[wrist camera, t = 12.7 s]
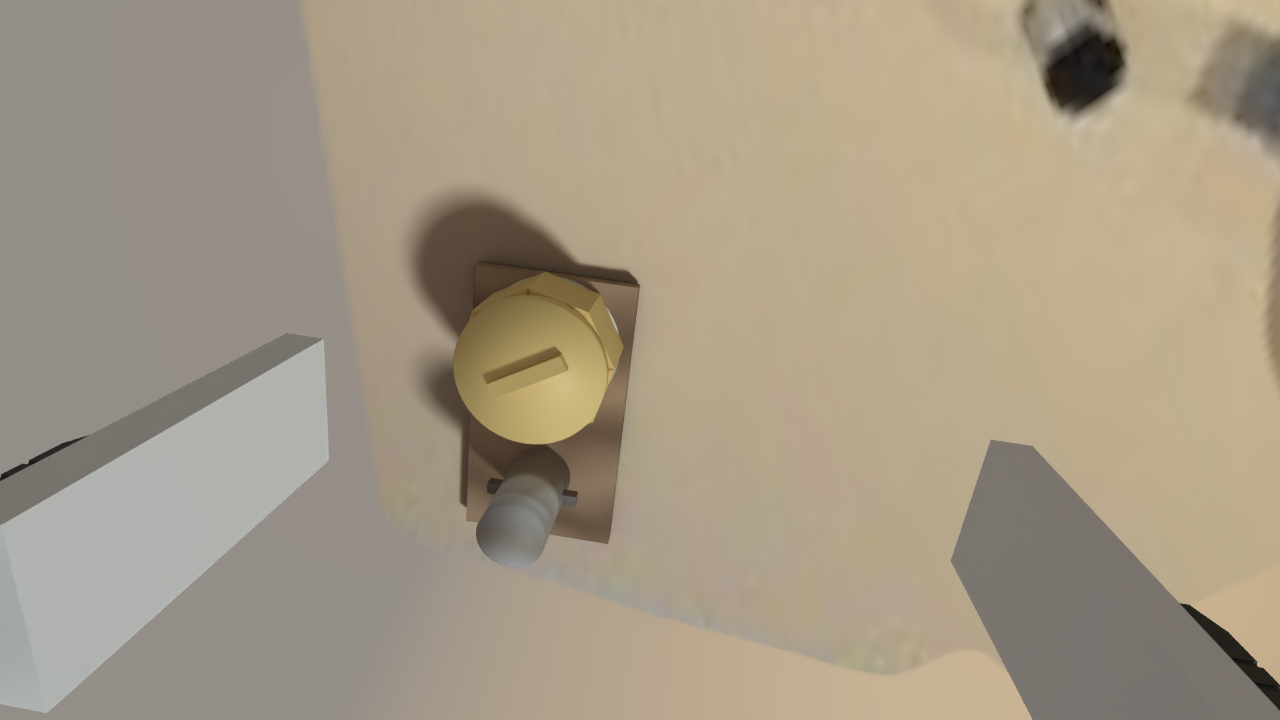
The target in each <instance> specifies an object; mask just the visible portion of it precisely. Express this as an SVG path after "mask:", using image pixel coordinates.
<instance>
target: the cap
mask: <svg viewBox="0 0 1280 720" xmlns="http://www.w3.org/2000/svg"><path fill="white" fill-rule="evenodd" d="M623 348H624V346H623V343H622V341H621V339H620V337H619V335H618V332H617V330H616V328H615V326H614V324H613V321H612V319H611V317H610V315H609V313H608V310H607V308H606V306H605V304H604V302H603V299H602V297H601V295H600V294H598V293H596V292H593V291H591V290H589V289H586V288H584V287H581V286H579V285H577V284H574V283H572V282H569V281H567V280H565V279H562V278H560V277H557V276H555V275H552V274H550V273H548V272H543V273H540V274H538V275H536V276H533V277H531V278H528V279H526V280H524V281H521V282H519V283H517V284H514V285H512V286H509V287H507V288H505V289H502V290H500V291H497V292H495V293H493V294H492V295H491V296H489V297H488V298H487V299H486V300H485V301H483V302H482V303H481V304H480V305H478V306H477V307H476V308H475V309H473V310H472V312H471V315H470V318H469V321H468V324H467V325H466V326H465V328H464V329H463V331H462V333H461V335H460V336H459V339H458V341H457V344H456V348H455V352H454V359H453V371H454V378H455V383H456V386H457V389H458V392H459V394H460V396H461V398H462V400H463V402H464V404H465V405H466V407H467V408H468V410H469V411H470V412H471V413H472V415H473V416H474V417H475V418H476V419H477V420H478V421H479V422H480V423H481V424H483V425H484V426H485V427H486V428H488V429H489V430H491V431H492V432H494V433H496V434H498V435H500V436H502V437H504V438H506V439H509V440H512V441H515V442H520V443H525V444H548V443H553V442H557V441H561V440H563V439H566V438H568V437H570V436H572V435H574V434H575V433H577V432H578V431H580V430H581V429H582V428H583V427H585V426H586V425H587V424H589V423H592V422H593V421H594V418H595V416H596V414H597V411H598V409H599V406H600V404H601V402H602V399H603V397H604V394H605V392H606V389H607V387H608V385H609V382H610V380H611V377H612V375H613V372H614V370H615V368H616V365H617V363H618V360H619V358H620V355H621V353H622V350H623Z"/></svg>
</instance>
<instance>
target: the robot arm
mask: <svg viewBox="0 0 1280 720" xmlns="http://www.w3.org/2000/svg"><path fill="white" fill-rule="evenodd" d="M328 460H329V450H328V427H327V405H326V383H325V361H324V339H321V338H315V337H308V336H301V335H295V334H288V333H287V334H285V335H283V336H281V337H279V338H277V339H275V340H273V341H271V342H269V343H267V344H265V345H263V346H261V347H259V348H257V349H256V350H254V351H252V352H250V353H248V354H246V355H244V356H242V357H240V358H238V359H236V360H234V361H233V362H230V363H229V364H227V365H225V366H223V367H221V368H219V369H217V370H215V371H213V372H211V373H209V374H207V375H205V376H203V377H201V378H200V379H197V380H196V381H194V382H192V383H190V384H188V385H186V386H184V387H182V388H180V389H178V390H176V391H174V392H172V393H170V394H168V395H166V396H164V397H163V398H161V399H159V400H157V401H155V402H153V403H151V404H149V405H147V406H145V407H143V408H141V409H139V410H137V411H136V412H133V413H132V414H130V415H128V416H126V417H124V418H122V419H120V420H118V421H116V422H114V423H112V424H110V425H109V426H106V427H104V428H102V429H101V430H99V431H97V432H95V433H93V434H91V435H88V436H85V437H81V438H79V439H75V440H72V441H69V442H65V443H62V444H60V445H59V446H56V447H54V448H52V449H50V450H49V451H46V452H44V453H43V454H41V455H39V456H37V457H35V458H33V459H31V460H29V463H28V464H21V465H19V466H17V467H15V468H13V469H11V470H9V471H7V472H5V473H3V474H1V478H0V704H2V705H8V706H13V707H19V708H24V709H29V710H34V711H40V712H45V713H48V712H49V711H50V710H51V709H52V708H53V707H54V706H55V705H56V704H58V702H60V701H61V700H62V699H63V698H64V697H65V696H66V695H67V694H68V693H70V692H71V691H72V690H73V689H74V688H75V687H76V686H78V685H79V684H80V683H81V682H82V681H83V680H84V679H85V678H86V677H88V676H89V675H90V674H91V673H92V672H93V671H94V670H95V669H97V668H98V667H99V666H100V665H101V664H102V663H103V662H104V661H105V660H106V659H108V658H109V657H110V656H111V655H112V654H113V653H114V652H116V651H117V650H118V649H119V648H120V647H121V646H122V645H123V644H124V643H126V642H127V641H128V640H129V639H130V638H131V637H132V636H133V635H134V634H135V633H137V632H138V631H139V630H140V629H141V628H142V627H143V626H144V625H146V624H147V623H148V622H149V621H150V620H151V619H152V618H153V617H155V616H156V615H157V614H158V613H159V612H160V611H161V610H162V609H163V608H165V607H166V606H167V605H168V604H169V603H170V602H171V601H172V600H173V599H175V598H176V597H177V596H178V595H179V594H180V593H181V592H182V591H184V590H185V589H186V588H187V587H188V586H189V585H190V584H191V583H192V582H194V581H195V580H196V579H197V578H198V577H199V576H200V575H201V574H202V573H204V572H205V571H206V570H207V569H208V568H209V567H210V566H211V565H212V564H214V563H215V562H216V561H217V560H218V559H219V558H220V557H221V556H223V555H224V554H225V553H226V552H227V551H228V550H229V549H230V548H231V547H233V546H234V545H235V544H236V543H237V542H238V541H239V540H240V539H241V538H243V537H244V536H245V535H246V534H247V533H248V532H249V531H250V530H251V529H253V528H254V527H255V526H256V525H257V524H258V523H259V522H260V521H261V520H263V519H264V518H265V517H266V516H267V515H268V514H269V513H270V512H272V511H273V510H274V509H275V508H276V507H277V506H278V505H279V504H280V503H282V502H283V501H284V500H285V499H286V498H287V497H288V496H289V495H291V494H292V493H293V492H294V491H295V490H296V489H297V488H298V487H299V486H300V485H302V484H303V483H304V482H305V481H306V480H307V479H308V478H309V477H310V476H312V475H313V474H314V473H315V472H316V471H317V470H318V469H319V468H321V467H322V466H323V465H324V464H325V463H326V462H327V461H328ZM951 562H952V564H953V566H954V568H955V570H956V572H957V574H958V576H959V578H960V579H961V581H962V583H963V585H964V587H965V589H966V591H967V593H968V595H969V597H970V599H971V601H972V603H973V605H974V607H975V609H976V610H977V612H978V614H979V616H980V618H981V620H982V622H983V624H984V626H985V628H986V630H987V632H988V634H989V636H990V638H991V640H992V642H993V643H994V645H995V647H996V649H997V651H998V653H999V655H1000V657H1001V659H1002V661H1003V663H1004V665H1005V667H1006V669H1007V671H1008V673H1009V674H1010V676H1011V678H1012V680H1013V682H1014V684H1015V686H1016V688H1017V690H1018V692H1019V694H1020V696H1021V698H1022V700H1023V702H1024V704H1025V706H1026V707H1027V709H1028V711H1029V713H1030V715H1031V717H1032V719H1033V720H1280V685H1279V684H1278V683H1277V682H1276V681H1275V680H1274V679H1273V678H1272V677H1271V676H1270V674H1269V673H1268V672H1266V670H1265V669H1264V668H1260V667H1258V666H1257V661H1256V660H1255V659H1254V658H1253V657H1252V656H1251V655H1250V654H1249V653H1248V652H1247V651H1246V650H1245V649H1244V648H1243V647H1242V646H1241V645H1240V644H1239V643H1238V642H1237V641H1236V640H1235V639H1234V638H1233V637H1232V636H1231V635H1230V634H1229V632H1227V631H1226V630H1224V629H1223V628H1221V627H1220V626H1219V625H1217V624H1216V623H1214V622H1213V621H1211V620H1210V619H1209V618H1207V617H1206V616H1204V615H1203V614H1201V613H1200V612H1198V611H1197V610H1196V609H1194V608H1193V607H1192V606H1190V605H1187V604H1181V603H1179V602H1178V601H1177V600H1176V599H1175V598H1174V597H1173V596H1172V595H1171V594H1170V593H1169V592H1168V591H1167V590H1166V589H1165V587H1164V586H1163V585H1162V584H1161V583H1160V582H1159V581H1158V580H1157V579H1156V578H1155V577H1154V576H1153V575H1152V574H1151V572H1150V571H1149V570H1148V569H1147V568H1146V567H1145V566H1144V565H1143V564H1142V563H1141V562H1140V561H1139V560H1138V559H1137V557H1136V556H1135V555H1134V554H1133V553H1132V552H1131V551H1130V550H1129V549H1128V548H1127V547H1126V546H1125V545H1124V544H1123V543H1122V541H1121V540H1120V539H1119V538H1118V537H1117V536H1116V535H1115V534H1114V533H1113V532H1112V531H1111V530H1110V529H1109V528H1108V526H1107V525H1106V524H1105V523H1104V522H1103V521H1102V520H1101V519H1100V518H1099V517H1098V516H1097V515H1096V514H1095V513H1094V511H1093V510H1092V509H1091V508H1090V507H1089V506H1088V505H1087V504H1086V503H1085V502H1084V501H1083V500H1082V499H1081V498H1080V497H1079V495H1078V494H1077V493H1076V492H1075V491H1074V490H1073V489H1072V488H1071V487H1070V486H1069V485H1068V484H1067V483H1066V482H1065V480H1064V479H1063V478H1062V477H1061V476H1060V475H1059V474H1058V473H1057V472H1056V471H1055V470H1054V469H1053V468H1052V467H1051V465H1050V464H1049V463H1048V462H1047V461H1046V460H1045V459H1044V458H1043V457H1042V456H1041V455H1040V454H1039V453H1038V452H1037V451H1036V449H1035V448H1034V447H1033V446H1029V445H1022V444H1016V443H1009V442H1002V441H996V440H991V441H990V444H989V447H988V450H987V453H986V456H985V459H984V462H983V465H982V468H981V471H980V474H979V477H978V480H977V483H976V486H975V489H974V492H973V495H972V498H971V501H970V504H969V507H968V510H967V513H966V516H965V519H964V522H963V525H962V528H961V531H960V535H959V538H958V541H957V544H956V547H955V550H954V553H953V556H952V559H951Z"/></svg>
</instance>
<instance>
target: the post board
mask: <svg viewBox="0 0 1280 720" xmlns="http://www.w3.org/2000/svg"><path fill="white" fill-rule="evenodd" d="M543 272H548V271H541V270H534V269H527V268H520V267H512V266H505V265H498V264H491V263H484V262H479V263H477V264H475V273H474V303H473V309H475V308H476V307H477V306H478V305H480V304H481V303H482V302H483V301H485V300H486V299H487V298H488V297H489V296H491V295H492V294H493V293H495V292H497V291H500V290H502V289H505V288H507V287H509V286H512V285H514V284H517V283H519V282H521V281H524V280H526V279H528V278H531V277H533V276H536V275H538V274H540V273H543ZM548 273H550V274H552V275H555V276H557V277H560V278H562V279H565V280H567V281H569V282H572V283H574V284H577V285H579V286H581V287H584V288H586V289H589V290H591V291H593V292H596V293H598V294H600V295H601V297H602V299H603V302H604V304H605V306H606V308H607V310H608V313H609V315H610V317H611V319H612V321H613V324H614V326H615V328H616V330H617V332H618V335H619V337H620V339H621V341H622V343H623V346H624V348H623V350H622V353H621V355H620V358H619V360H618V363H617V365H616V368H615V370H614V372H613V375H612V377H611V380H610V382H609V385H608V387H607V389H606V392H605V394H604V397H603V399H602V402H601V404H600V406H599V409H598V411H597V414H596V416H595V418H594V421H593V422H592V423H589V424H587V425H586V426H585V427H583V428H582V429H581V430H580V431H578V432H577V433H575V434H574V435H572V436H570V437H568V438H566V439H563V440H561V441H557V442H553V443H548V444H525V443H520V442H515V441H512V440H509V439H506V438H504V437H502V436H500V435H498V434H496V433H494V432H492V431H491V430H489V429H488V428H486V427H485V426H484V425H483V424H481V423H480V422H479V421H478V420H477V419H476V418H475V417H474V416H473V415H472V413H471V412H470V425H469V455H468V486H467V516H466V521H471V522H477V523H478V525H477V529H476V537H477V541H478V544H479V546H480V548H481V550H482V551H483V552H484V554H485V555H486V556H487V557H489V558H490V559H491V560H493V561H494V562H496V563H498V564H500V565H503V566H507V567H523V566H526V565H529V564H531V563H533V562H534V561H536V560H537V559H538V558H539V557H540V555H541V554H542V552H543V549H544V547H545V544H546V542H547V539H548V537H549V534H551V535H557V536H563V537H569V538H575V539H581V540H587V541H593V542H600V543H606V544H608V542H609V538H610V531H611V523H612V515H613V506H614V498H615V490H616V481H617V473H618V464H619V456H620V448H621V439H622V431H623V422H624V414H625V406H626V397H627V389H628V380H629V372H630V364H631V355H632V347H633V339H634V330H635V322H636V313H637V305H638V297H639V288H640V284H634V283H627V282H619V281H612V280H605V279H598V278H591V277H584V276H577V275H570V274H562V273H555V272H548Z"/></svg>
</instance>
